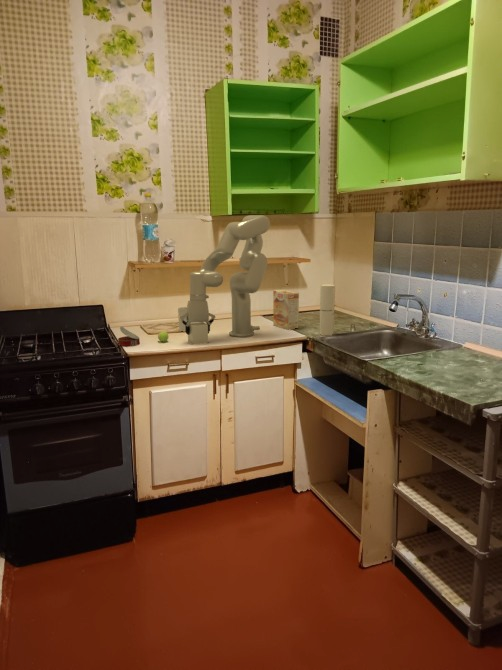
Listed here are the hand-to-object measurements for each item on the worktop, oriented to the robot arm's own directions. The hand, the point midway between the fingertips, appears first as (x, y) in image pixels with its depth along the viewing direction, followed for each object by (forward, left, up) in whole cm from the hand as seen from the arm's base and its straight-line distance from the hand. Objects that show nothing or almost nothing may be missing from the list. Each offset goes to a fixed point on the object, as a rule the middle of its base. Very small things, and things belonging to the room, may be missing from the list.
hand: (197, 333), depth 245 cm
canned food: (+31, -9, -5) cm, 33 cm away
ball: (+15, -7, -2) cm, 17 cm away
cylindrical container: (-65, +10, -4) cm, 66 cm away
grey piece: (0, 0, -4) cm, 4 cm away
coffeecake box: (-54, -14, -4) cm, 56 cm away
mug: (-3, -28, -4) cm, 29 cm away
